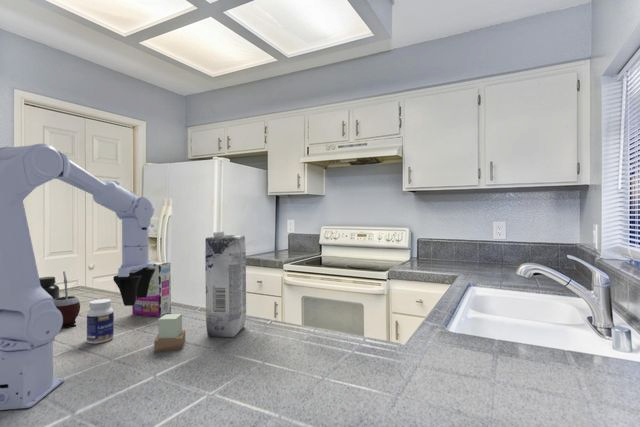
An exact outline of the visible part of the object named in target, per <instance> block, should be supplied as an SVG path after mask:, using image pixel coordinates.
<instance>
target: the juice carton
mask: <svg viewBox="0 0 640 427" xmlns="http://www.w3.org/2000/svg"><path fill="white" fill-rule="evenodd" d="M212 234H213V236H212V237H210V236H209V237H208V236H207V237H205V238H204V239H205V248H204V249H205V250H204V251H205V252H204V254H205V255H204V256H205V257H204V258H205V260H204V261H205V262H204V263H205V267H204V268H205V325H206V333H207V334H206V335H207V336H208V337H212V338H213V337H215V338H219V337H220V338H224V337H225V338H233V337H235V336H236V335H237V334H238V333H239V332H240V331H241V330H242V329H244V327H245V325H246V320H247V319H246V318H247V264H246V263H247V260H246V259H247V258H246V257H247V255H246V253H247V252H246V236H245V235H241V234H240V235H239V234H237V235H235V234H230V235H229V234H228V235H227V234H226V235H225V231H224V230H223V231H215V232H212Z"/></svg>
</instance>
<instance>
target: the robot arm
mask: <svg viewBox="0 0 640 427" xmlns="http://www.w3.org/2000/svg"><path fill="white" fill-rule="evenodd" d="M54 179H55V180H60V181H62V182H64V183H66V184H68V185H70V186H73V187H75V188H77V189H78V190H81V191H84V192H86V193H87V194H90V195H92V198H93V201H94V202H95V203H96V204H97V205H100V206H102V207H104V208H105V209H107V210H108V209H109V210H110V211H112V212H114V213H115V215H116V216H117V218H118V219H119V220H121V242H122V243H121V256H122V257H121V265H120V267H119V268H118V270H117V275H114V276H113V282H114V283H115V285H116V286H117V287H118V289H119V293H120V296H121V299H122V302H123V305H124V306H125V307H127V306H131V307H132V306H133V305H135V302H136V296H137V298H146V297H147V293H148V289H149V284H150V281H151V278H152V276H153V274H154V272H155V268H149V267H151V266H154V263H150V262H151V259H149V227H150V225H151V220H152V217H153V215H154V213H155V208H154V207H153V204H152V202H151V201H150V200H149V199H148V198H147V197H144V196H139V197H138V196H137V194H135V192H134V191H130V190H128V189H126V188H124V187H122V186H121V184H120V182H119V181H117V180H105V181H103V180H101V179H99V178H98V177H96V175H93V174H92V173H90V172H88V171H87V170H85V169H84V168H83V167H82V166H80V165H78V164H77V163H75V162H74V161H72V160H71V159H69V157H68V155H67V154H66V153H65V152H64V151H63V152H62V151H60V150H57V149H56V148H55V147H54V146H52V145H51V144H46V143H37V144H32V145H21V146H20V145H19V146H3V147H2V146H1V147H0V411H7V410H18V409H28V408H29V409H30V408H31V407H33V406H34V405H36V404H37V403H38V402H39V401H41V400H42V399H43V398H45V397H46V396H47V395H48V394H49V393H50V392H53V390H55V389H56V388H57V387H58V386H60V385H61V384H62V383H64V382H65V378H64V377H60V378H59V377H58V378H56V377H55V378H54V346H53V345H54V341H55V339H56V337H57V335H58V334H59V333H60V331H61V329H62V328H61V327H62V324H63V317H62V314H61V312H60V311H59V310H58V309H57V308H56V306H55V304H54V301H53V298H52V296H51V295H50V294H48V293H47V292H46V291H45V290H44V289H43V288H42V287H41V285H40V280H39V278H40V277H39V270H38V267H37V263H36V262H37V261H36V256H35V251H34V247H33V242H32V238H31V233H30V229H29V223H28V219H27V214H26V210H25V209H26V208H25V204H24V199H26V198H27V196H29V195H30V194H31V193H33V191H34V190H35V189H36V188H38V187H41V186H43V185H44V184H46V183H48V182H50V181H52V180H54Z"/></svg>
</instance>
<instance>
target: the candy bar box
mask: <svg viewBox="0 0 640 427" xmlns="http://www.w3.org/2000/svg"><path fill="white" fill-rule="evenodd" d="M150 263H154V266H151V267H149V268H155V272H154V274H153V276H152V278H151V281H150V284H149V289H148V293H147V297H146V298H137V296H136V302H135V305H133V306H131V307H132V315H133V316H134V315H135V316H141V317H142V316H144V317H154V318H155V317H156V318H161V317H162V316H164V315H165V314H172V309H171V308H172V307H171V306H172V305H171V304H172V303H171V299H172V298H171V297H172V296H171V295H172V293H171V292H172V291H171V262H162V261H161V262H160V261H159V262H157V261H156V262H155V261H154V262H153V261H150Z"/></svg>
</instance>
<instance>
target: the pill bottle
mask: <svg viewBox="0 0 640 427" xmlns="http://www.w3.org/2000/svg"><path fill="white" fill-rule="evenodd" d="M111 305H112V299H110V298H103V299H102V298H101V299H100V298H99V299H95V300H91V301H89V303H88V307H89V309H90V310H89V311H88V312H87V314H86V341H87V343H88V344H92V345H93V344H95V345H97V344H103V343H106V342H108V341H112V339H113V338H114V328H115V326H114V322H115V321H114V319H115V318H114V315H115V314H114V309H113V308H112V307H111Z"/></svg>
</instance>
